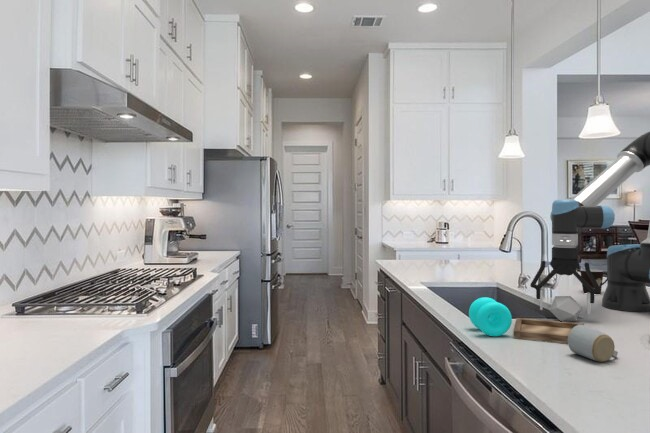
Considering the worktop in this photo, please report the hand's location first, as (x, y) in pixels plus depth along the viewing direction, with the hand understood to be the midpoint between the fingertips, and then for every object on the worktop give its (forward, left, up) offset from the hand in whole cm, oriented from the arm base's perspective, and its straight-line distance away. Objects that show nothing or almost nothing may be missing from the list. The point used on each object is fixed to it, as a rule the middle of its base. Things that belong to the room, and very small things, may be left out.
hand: (564, 311), depth 143 cm
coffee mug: (-14, -55, -3) cm, 57 cm away
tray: (+5, +20, -3) cm, 21 cm away
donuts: (+21, +25, -3) cm, 32 cm away
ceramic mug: (-5, +37, -3) cm, 38 cm away
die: (0, 0, -3) cm, 3 cm away
